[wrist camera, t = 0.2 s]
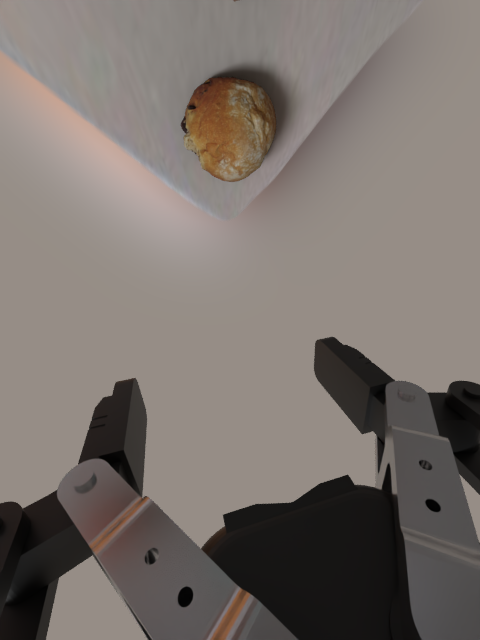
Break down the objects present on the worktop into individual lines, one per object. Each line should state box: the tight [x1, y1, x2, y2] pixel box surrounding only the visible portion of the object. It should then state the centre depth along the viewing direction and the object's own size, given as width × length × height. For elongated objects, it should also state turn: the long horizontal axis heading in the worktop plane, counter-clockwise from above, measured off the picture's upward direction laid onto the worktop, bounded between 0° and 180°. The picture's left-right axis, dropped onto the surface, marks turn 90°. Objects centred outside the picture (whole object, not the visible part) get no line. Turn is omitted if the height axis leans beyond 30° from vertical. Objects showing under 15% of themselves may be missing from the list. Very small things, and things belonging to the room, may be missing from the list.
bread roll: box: [181, 77, 276, 182], centre depth 31 cm, size 10×10×8 cm
